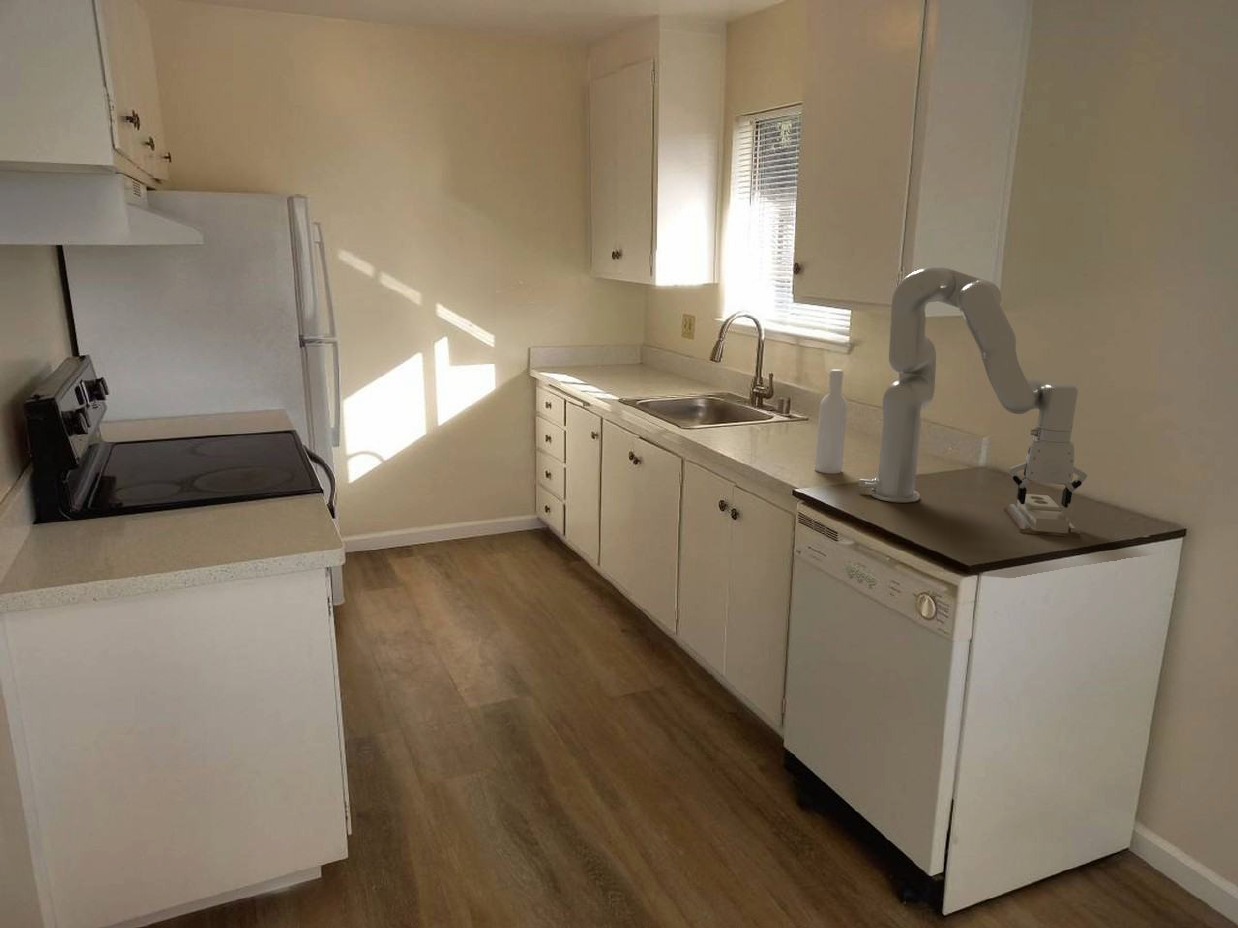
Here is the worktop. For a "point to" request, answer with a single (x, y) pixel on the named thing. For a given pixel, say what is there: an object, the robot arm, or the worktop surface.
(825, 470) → the bottle
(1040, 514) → the electrical outlet
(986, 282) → the robot arm
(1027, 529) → the rail board
